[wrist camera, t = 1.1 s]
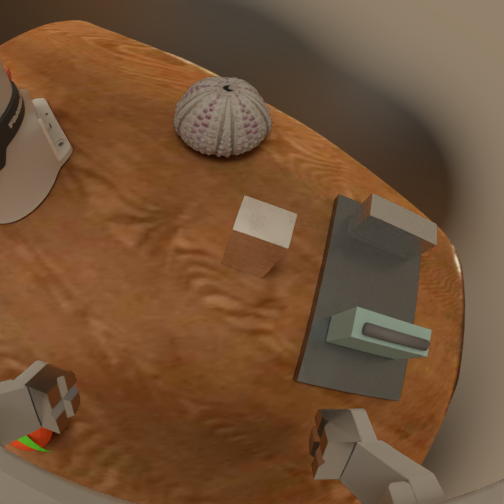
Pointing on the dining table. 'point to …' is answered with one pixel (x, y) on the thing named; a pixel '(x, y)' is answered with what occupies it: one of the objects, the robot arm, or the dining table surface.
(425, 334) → the sliding jaw
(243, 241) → the block
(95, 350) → the dining table surface
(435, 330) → the dining table surface
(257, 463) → the dining table surface
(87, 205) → the dining table surface
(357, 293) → the vise
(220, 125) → the sea urchin shell
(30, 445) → the clementine
